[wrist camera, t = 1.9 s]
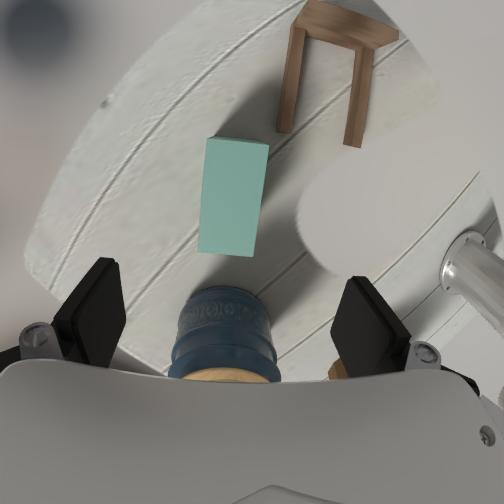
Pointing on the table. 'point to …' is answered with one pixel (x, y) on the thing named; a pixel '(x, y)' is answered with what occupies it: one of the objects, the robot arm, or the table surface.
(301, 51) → the book slot
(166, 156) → the table surface
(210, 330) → the canister
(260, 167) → the teal rectangular block
